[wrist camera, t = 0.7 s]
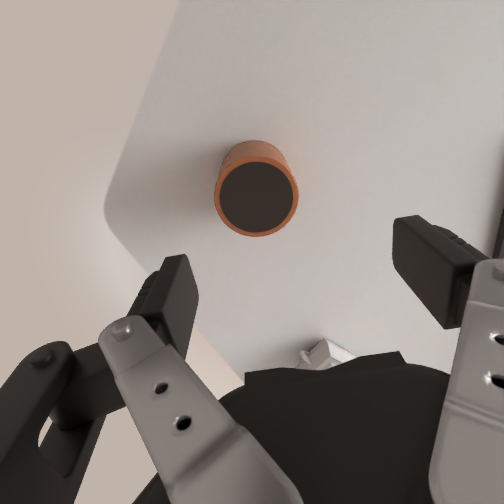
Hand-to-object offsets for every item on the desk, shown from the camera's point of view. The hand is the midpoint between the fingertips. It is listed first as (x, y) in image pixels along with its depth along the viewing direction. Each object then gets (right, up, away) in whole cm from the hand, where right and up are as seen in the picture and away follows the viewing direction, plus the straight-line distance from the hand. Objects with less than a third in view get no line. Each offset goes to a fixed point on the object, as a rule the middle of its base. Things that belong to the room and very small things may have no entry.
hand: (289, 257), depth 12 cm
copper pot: (-1, +7, +16) cm, 18 cm away
